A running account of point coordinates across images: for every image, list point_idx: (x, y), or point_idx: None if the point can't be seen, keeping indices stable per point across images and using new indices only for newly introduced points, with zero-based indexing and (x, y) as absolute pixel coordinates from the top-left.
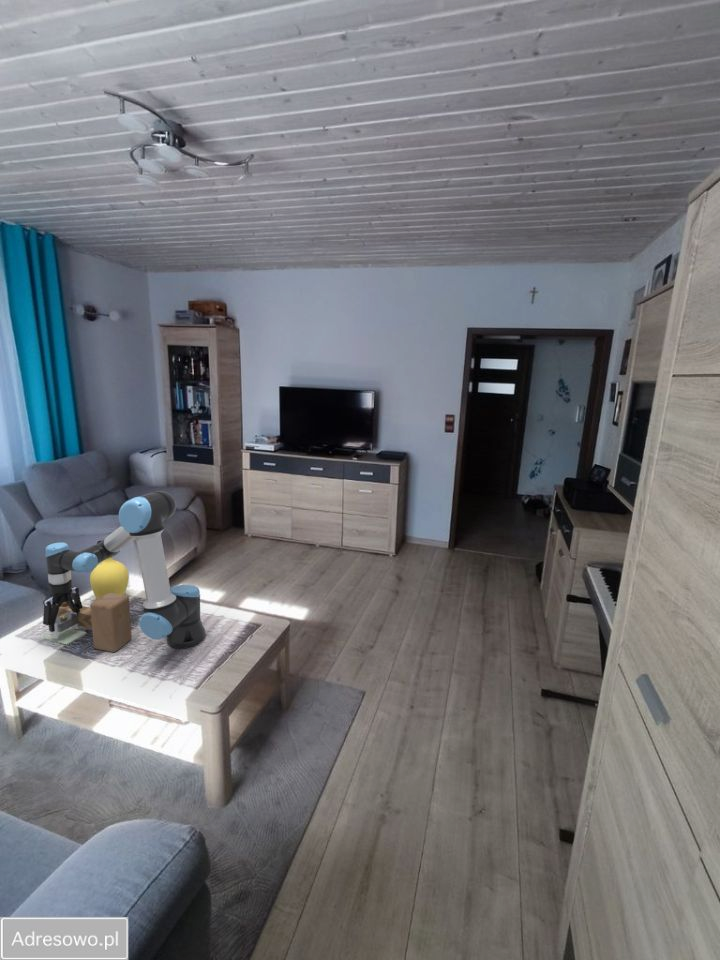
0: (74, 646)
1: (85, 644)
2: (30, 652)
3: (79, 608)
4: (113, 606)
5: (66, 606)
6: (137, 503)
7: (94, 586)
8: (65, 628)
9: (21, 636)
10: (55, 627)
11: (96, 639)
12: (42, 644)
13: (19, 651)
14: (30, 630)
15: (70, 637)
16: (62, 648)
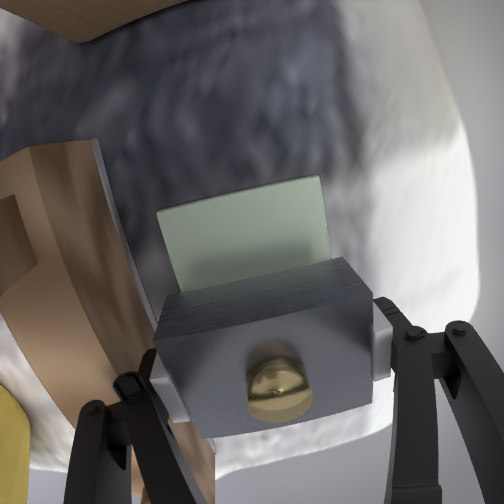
0: (294, 117)
1: (237, 78)
2: (438, 272)
3: (109, 410)
4: None
5: None
6: None
7: (3, 493)
8: (302, 272)
9: (360, 421)
10: (378, 309)
11: None
12: None
13: (444, 318)
14: (314, 440)
15: (257, 237)
16: (348, 163)
